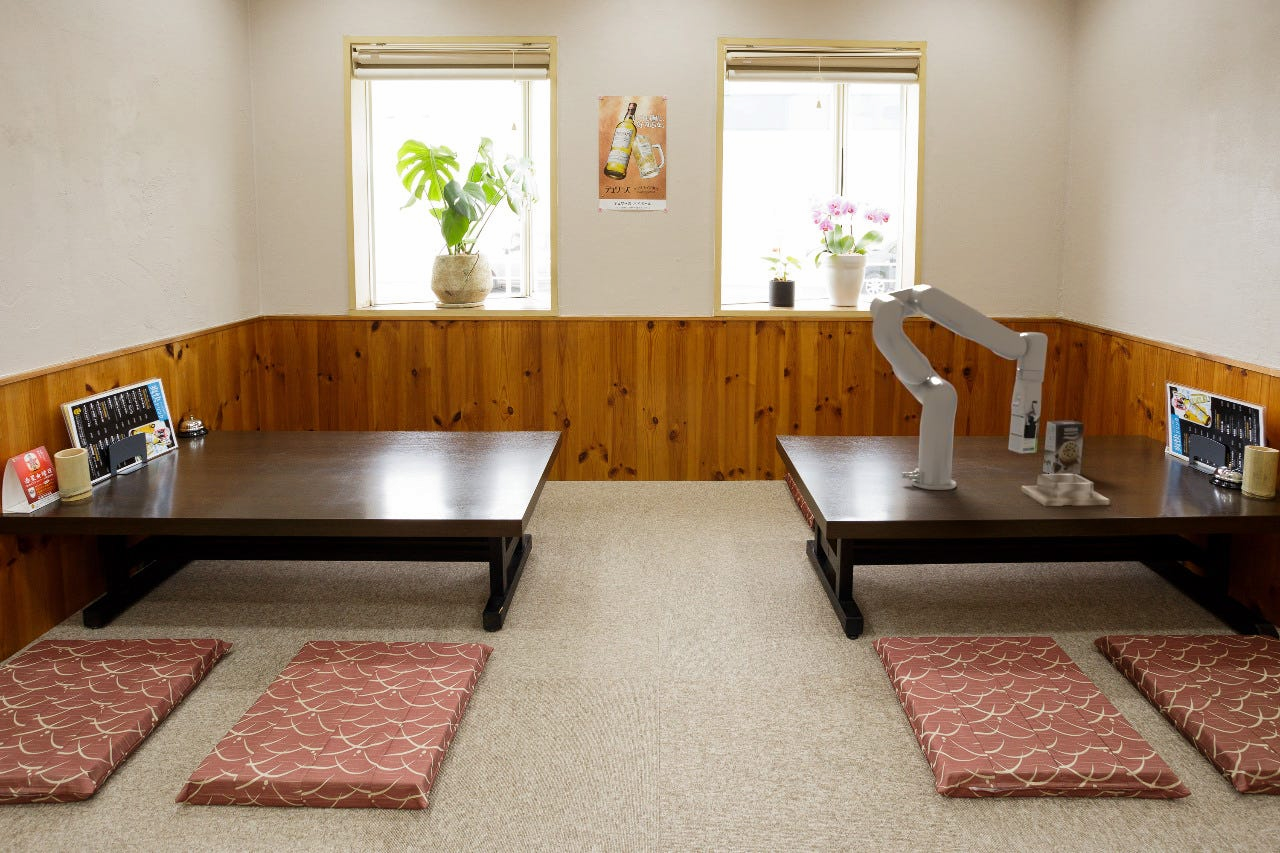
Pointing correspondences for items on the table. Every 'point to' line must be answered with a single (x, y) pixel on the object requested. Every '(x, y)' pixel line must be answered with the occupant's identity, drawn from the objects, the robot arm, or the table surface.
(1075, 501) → the holder
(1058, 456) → the coffee box
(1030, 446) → the syrup box
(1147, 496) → the table surface
